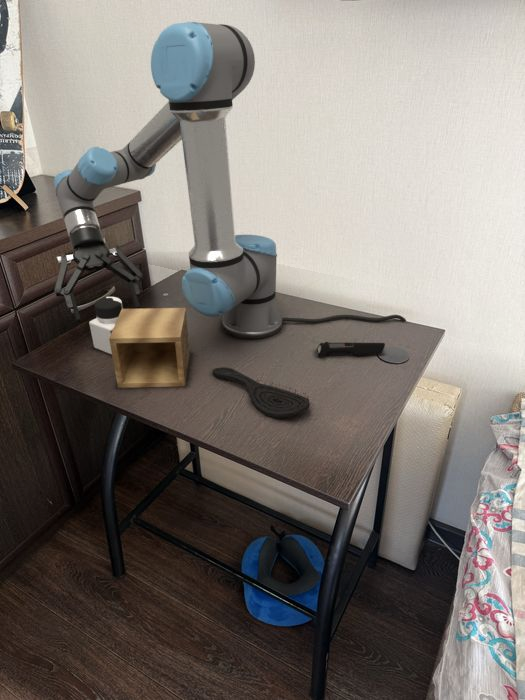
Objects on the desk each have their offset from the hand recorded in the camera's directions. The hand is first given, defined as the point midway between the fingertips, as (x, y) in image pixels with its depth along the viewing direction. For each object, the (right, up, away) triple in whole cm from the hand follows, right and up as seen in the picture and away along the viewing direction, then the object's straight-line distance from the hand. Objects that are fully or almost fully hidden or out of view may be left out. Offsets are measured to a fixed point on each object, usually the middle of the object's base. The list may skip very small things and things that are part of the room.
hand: (109, 315), depth 116 cm
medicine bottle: (+1, -7, +3) cm, 8 cm away
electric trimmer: (+56, -9, +1) cm, 57 cm away
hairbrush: (+35, -17, -13) cm, 41 cm away
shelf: (+12, -13, -6) cm, 18 cm away
